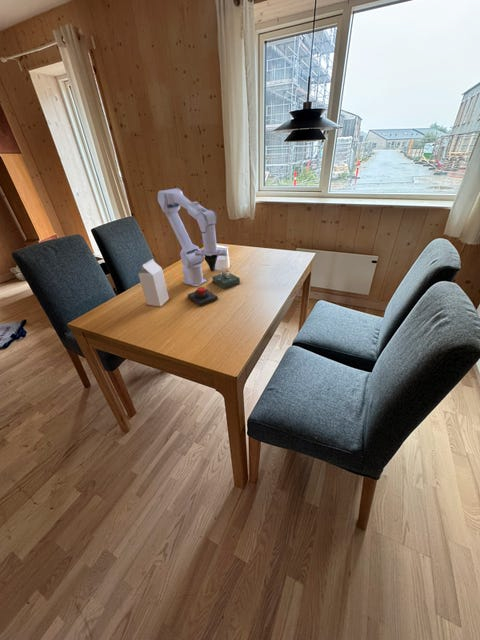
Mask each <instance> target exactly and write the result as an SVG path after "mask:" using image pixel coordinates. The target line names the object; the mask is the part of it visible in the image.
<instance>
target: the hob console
mask: <svg viewBox="0 0 480 640" xmlns="http://www.w3.org/2000/svg"><path fill="white" fill-rule="evenodd" d="M229 276H230V278H228V279H226V278H224V277H222V272H220V273H219V274H215V275H212V279H211V280H212V282H213V283H214V284H215V285H218V286H219V287H221V288H222V289H224V290H226V289H229V288H232V287H234V286H237V285H240V284H241V279H240V277H238V276H236V275H234V274H232V273H231V272H229Z"/></svg>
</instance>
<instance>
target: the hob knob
mask: <svg viewBox="0 0 480 640" xmlns="http://www.w3.org/2000/svg"><path fill="white" fill-rule="evenodd" d="M220 271H221V272H220V273H222V277H224V278H226V279H228V278H230V276H229V273H230V270H229V269H221V270H220Z"/></svg>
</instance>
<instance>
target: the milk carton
mask: <svg viewBox="0 0 480 640" xmlns="http://www.w3.org/2000/svg"><path fill="white" fill-rule="evenodd" d="M137 275H138V278H139V281H140V285H141V288H142V292H143V296H144V299H145V302H146V305H148V306H153V307H154V306H155V307H162V306H163V305H164V304H165V303H167V301H168V300H170V296H169V293H168V288H167V284H166V279H165V275H164V271H163V268H162V267H161V266H160V265H159V264H158V263H157V262H155V260H154V258H152V259H150V260H148V261H146V262H145V263H143V264H142V266H141V269H140V271H139V272H138V273H137Z"/></svg>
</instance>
